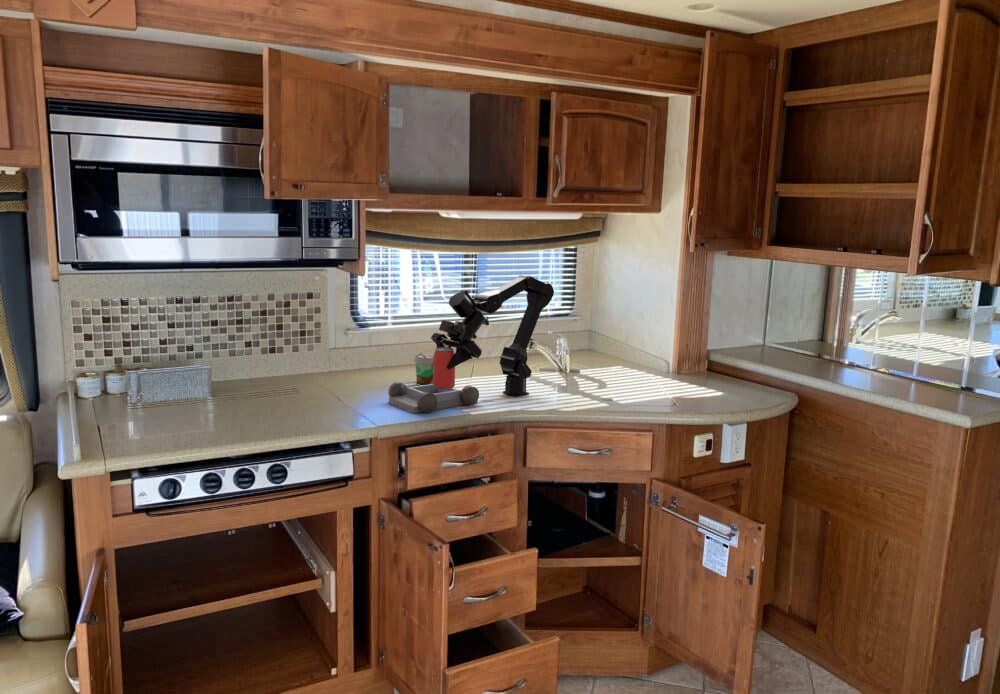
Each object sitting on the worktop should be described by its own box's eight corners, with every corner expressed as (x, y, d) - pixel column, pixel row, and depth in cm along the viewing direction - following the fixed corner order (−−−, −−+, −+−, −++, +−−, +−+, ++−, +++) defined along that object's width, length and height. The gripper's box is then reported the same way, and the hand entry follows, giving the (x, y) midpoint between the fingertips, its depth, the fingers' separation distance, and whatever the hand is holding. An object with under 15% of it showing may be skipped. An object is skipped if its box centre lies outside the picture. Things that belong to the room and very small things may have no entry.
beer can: (430, 389, 238) (430, 350, 236) (436, 384, 244) (436, 346, 242) (451, 390, 237) (452, 351, 234) (457, 385, 243) (457, 347, 241)
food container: (406, 381, 275) (406, 353, 273) (420, 379, 279) (421, 352, 277) (426, 388, 266) (426, 359, 264) (441, 386, 269) (441, 358, 268)
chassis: (447, 392, 262) (447, 374, 261) (481, 403, 248) (481, 385, 247) (385, 402, 246) (385, 383, 245) (418, 415, 233) (418, 395, 232)
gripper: (435, 306, 245) (407, 345, 240) (475, 314, 232) (445, 355, 227) (455, 329, 252) (427, 367, 247) (494, 337, 239) (465, 378, 233)
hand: (440, 366), depth 238 cm, fingers closed on beer can, 7 cm apart
